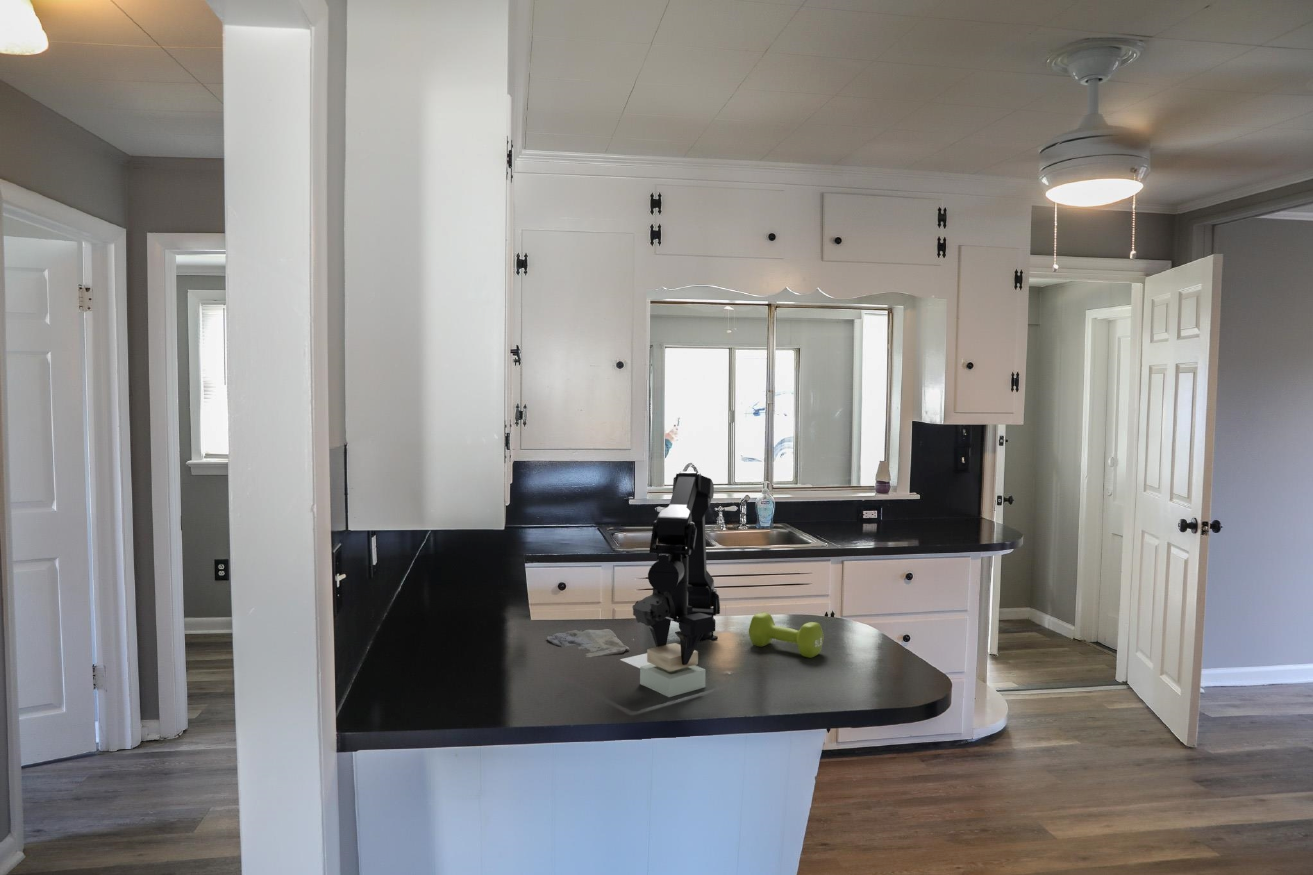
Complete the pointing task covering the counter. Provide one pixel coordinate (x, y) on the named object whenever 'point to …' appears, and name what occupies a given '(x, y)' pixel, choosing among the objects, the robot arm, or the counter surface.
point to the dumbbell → (786, 634)
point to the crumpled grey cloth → (591, 641)
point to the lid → (669, 657)
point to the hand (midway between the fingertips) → (672, 659)
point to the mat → (637, 660)
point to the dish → (672, 679)
